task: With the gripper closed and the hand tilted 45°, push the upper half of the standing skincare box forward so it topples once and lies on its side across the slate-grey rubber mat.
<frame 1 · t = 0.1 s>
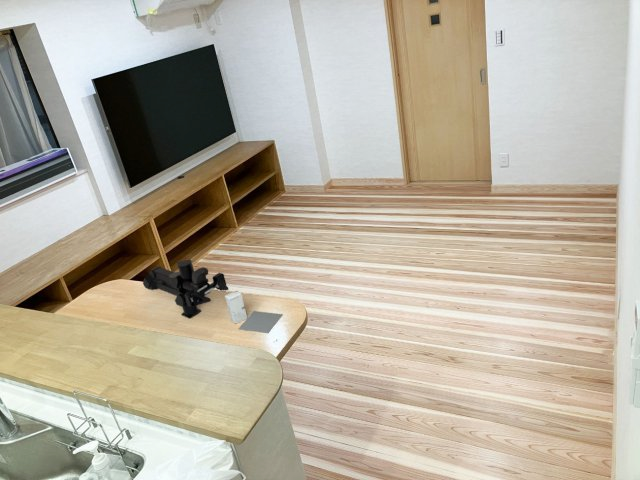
hand: (219, 294, 205), 17 cm above the counter, tool horizontal, fingers open, 9 cm apart
skincare box: (239, 319, 217), on the counter
slate mat: (260, 321, 213), on the counter
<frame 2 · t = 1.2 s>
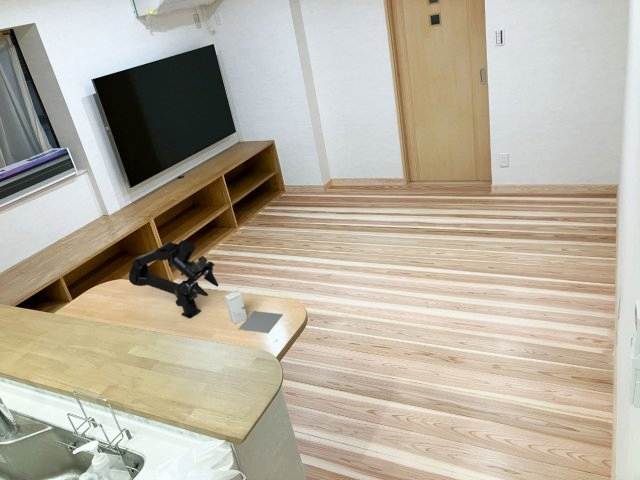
hand: (212, 290, 216), 13 cm above the counter, tool tilted 45°, fingers open, 7 cm apart
nothing on the counter moved.
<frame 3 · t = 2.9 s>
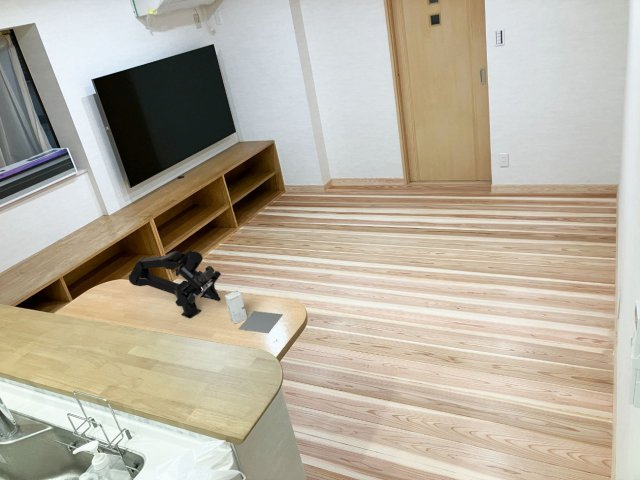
hand: (219, 300, 217), 9 cm above the counter, tool tilted 45°, fingers closed
nothing on the counter moved.
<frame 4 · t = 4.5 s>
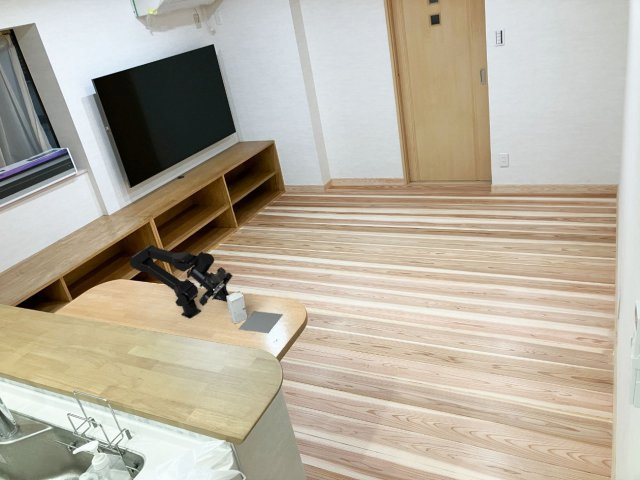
hand: (231, 302, 214), 8 cm above the counter, tool tilted 45°, fingers closed
skincare box: (239, 318, 217), on the counter, touching gripper
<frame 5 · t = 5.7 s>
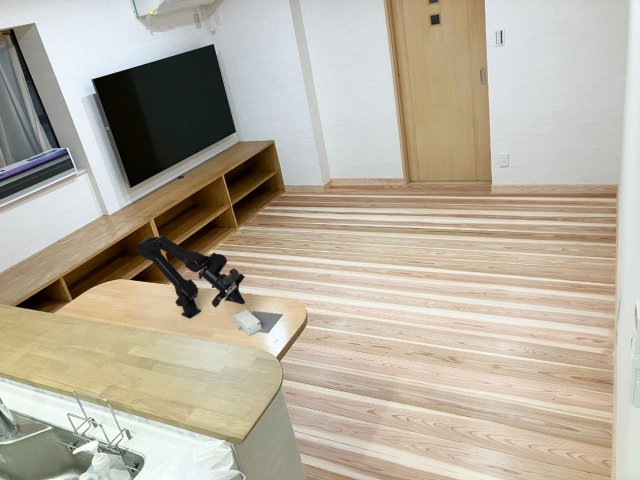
hand: (244, 303, 212), 8 cm above the counter, tool tilted 45°, fingers closed
skincare box: (241, 315, 215), point 3 cm above the counter, touching slate mat
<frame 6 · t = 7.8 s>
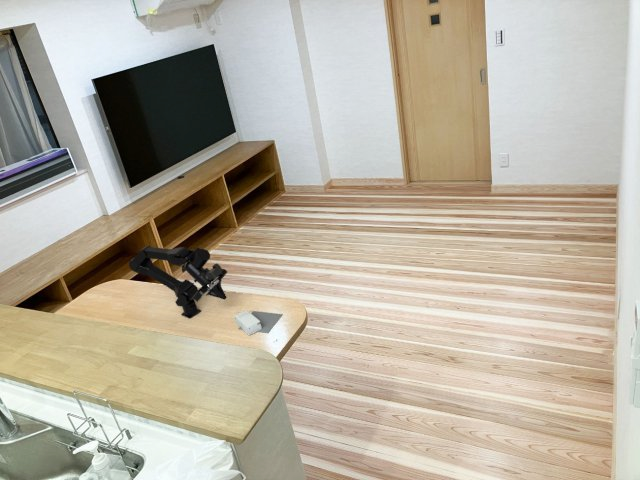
hand: (225, 298, 215), 10 cm above the counter, tool tilted 40°, fingers closed
nothing on the counter moved.
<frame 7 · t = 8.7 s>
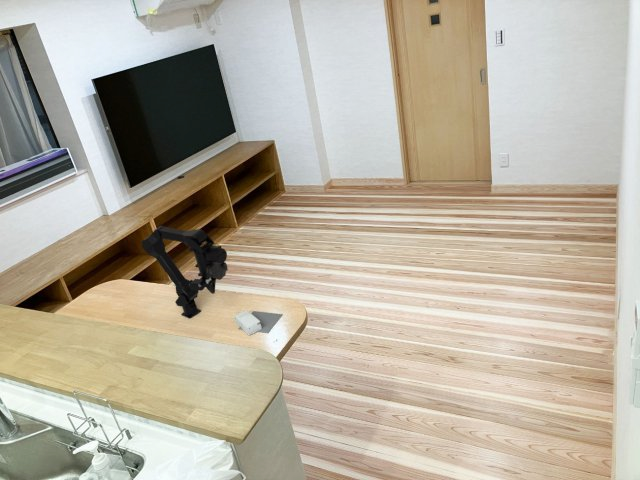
hand: (213, 293, 216), 12 cm above the counter, tool pointing down, fingers closed
nothing on the counter moved.
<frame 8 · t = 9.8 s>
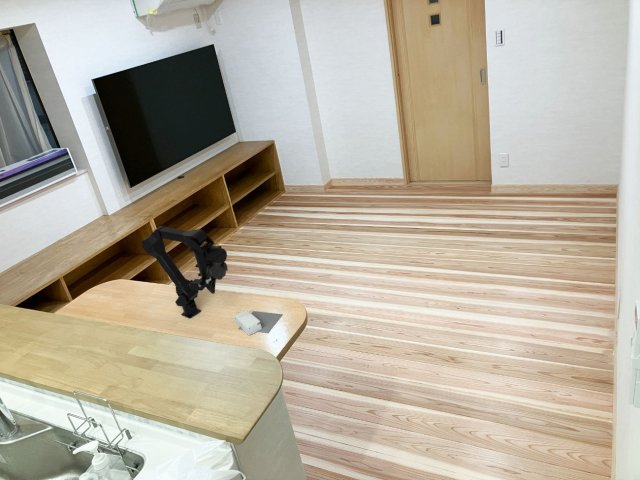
hand: (213, 293, 216), 12 cm above the counter, tool pointing down, fingers closed
nothing on the counter moved.
at the end: skincare box tilted 92°; skincare box touching slate mat; skincare box inside the target area (3.3 cm from its centre), point 2.6 cm above the counter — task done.
